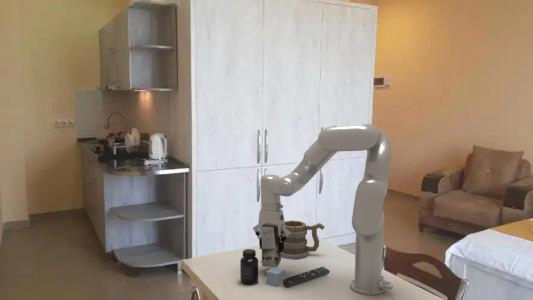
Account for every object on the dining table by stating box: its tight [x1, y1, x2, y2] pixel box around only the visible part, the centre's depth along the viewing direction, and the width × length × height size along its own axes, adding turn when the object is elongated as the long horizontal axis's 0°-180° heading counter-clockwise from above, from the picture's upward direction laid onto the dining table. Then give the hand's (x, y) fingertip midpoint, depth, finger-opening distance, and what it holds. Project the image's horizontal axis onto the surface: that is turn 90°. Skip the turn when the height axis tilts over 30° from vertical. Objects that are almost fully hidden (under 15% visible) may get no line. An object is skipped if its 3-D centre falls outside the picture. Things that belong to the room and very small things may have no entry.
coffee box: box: [261, 225, 282, 268], centre depth 173 cm, size 9×6×16 cm
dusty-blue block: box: [265, 267, 285, 288], centre depth 164 cm, size 5×5×5 cm
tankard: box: [281, 220, 325, 260], centre depth 193 cm, size 20×13×15 cm, turn 73°
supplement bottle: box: [239, 248, 259, 286], centre depth 165 cm, size 7×7×12 cm
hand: (271, 249), depth 173 cm, fingers closed on coffee box, 7 cm apart
